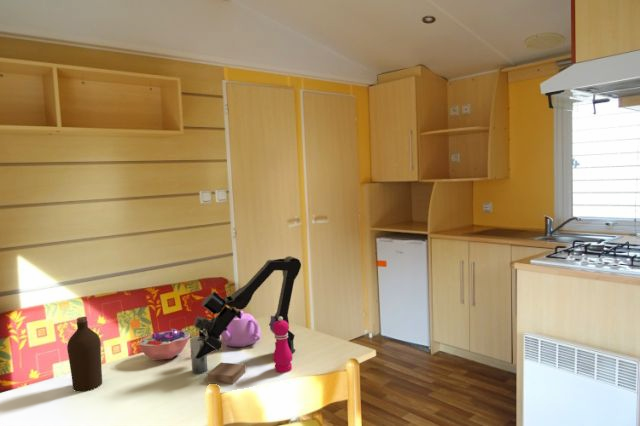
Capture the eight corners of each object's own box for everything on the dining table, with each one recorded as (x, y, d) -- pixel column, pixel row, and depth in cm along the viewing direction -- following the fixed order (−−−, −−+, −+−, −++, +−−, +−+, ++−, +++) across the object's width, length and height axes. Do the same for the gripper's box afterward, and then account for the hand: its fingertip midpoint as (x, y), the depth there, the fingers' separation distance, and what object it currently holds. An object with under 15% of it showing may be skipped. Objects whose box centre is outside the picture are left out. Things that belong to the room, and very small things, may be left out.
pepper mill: (296, 366, 172) (293, 314, 170) (287, 374, 165) (284, 320, 164) (279, 364, 175) (276, 313, 173) (270, 371, 168) (266, 318, 167)
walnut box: (245, 372, 169) (245, 364, 169) (232, 384, 159) (232, 375, 159) (221, 370, 172) (221, 362, 172) (207, 381, 162) (207, 373, 162)
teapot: (201, 347, 197) (199, 316, 196) (237, 332, 215) (235, 303, 214) (238, 356, 184) (235, 323, 183) (273, 339, 202) (271, 309, 201)
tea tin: (210, 368, 174) (208, 336, 173) (202, 374, 169) (200, 341, 168) (197, 367, 176) (195, 335, 175) (189, 373, 170) (186, 340, 170)
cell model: (140, 355, 192) (137, 328, 192) (189, 346, 200) (187, 320, 199) (140, 369, 177) (138, 341, 176) (193, 359, 184) (191, 332, 183)
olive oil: (80, 395, 157) (74, 324, 155) (65, 388, 163) (58, 320, 161) (110, 383, 165) (104, 315, 164) (94, 377, 171) (88, 312, 170)
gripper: (202, 302, 181) (175, 335, 177) (210, 314, 164) (180, 350, 160) (223, 319, 184) (197, 351, 181) (233, 332, 167) (205, 367, 164)
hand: (194, 354), depth 171 cm, fingers open, 8 cm apart
